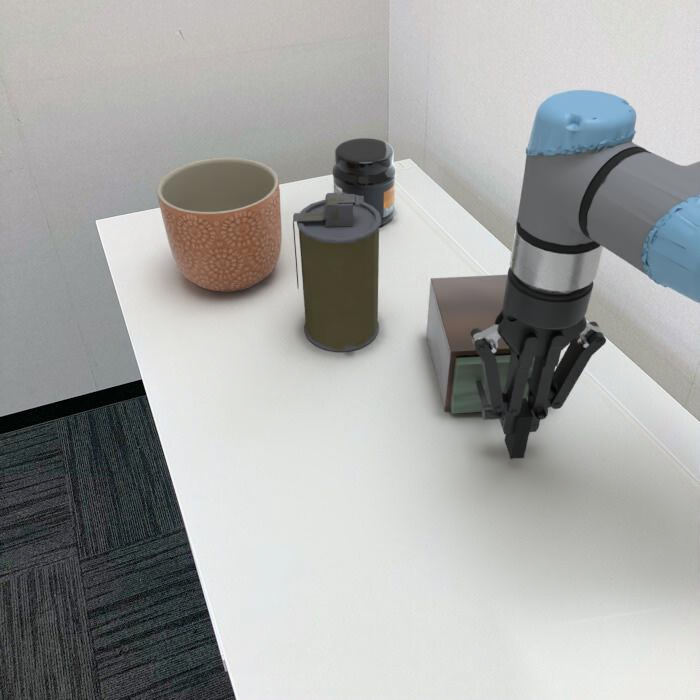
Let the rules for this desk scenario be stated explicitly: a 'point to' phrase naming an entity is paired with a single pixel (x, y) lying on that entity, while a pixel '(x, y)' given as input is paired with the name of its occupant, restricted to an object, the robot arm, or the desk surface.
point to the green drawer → (478, 386)
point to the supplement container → (367, 173)
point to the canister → (339, 271)
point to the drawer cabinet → (460, 321)
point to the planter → (222, 221)
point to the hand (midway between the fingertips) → (514, 449)
